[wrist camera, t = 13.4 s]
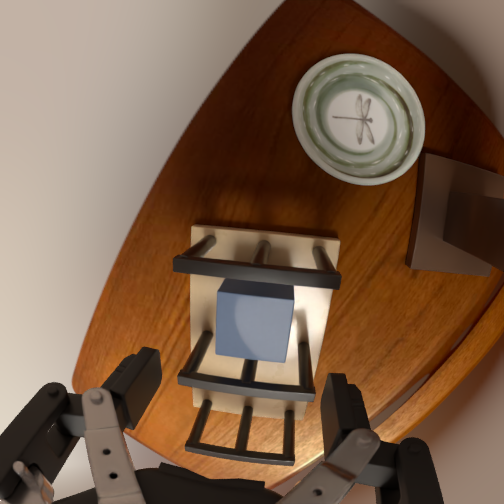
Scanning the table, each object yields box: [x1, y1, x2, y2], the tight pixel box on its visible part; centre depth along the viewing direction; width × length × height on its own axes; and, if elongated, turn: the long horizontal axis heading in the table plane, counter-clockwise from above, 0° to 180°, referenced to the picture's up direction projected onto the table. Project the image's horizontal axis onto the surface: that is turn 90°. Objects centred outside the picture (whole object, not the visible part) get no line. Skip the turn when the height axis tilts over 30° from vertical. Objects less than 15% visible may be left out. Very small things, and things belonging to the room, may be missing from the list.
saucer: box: [292, 54, 425, 185], centre depth 18 cm, size 10×10×2 cm
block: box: [215, 278, 295, 363], centre depth 20 cm, size 5×5×5 cm
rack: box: [173, 224, 342, 466], centre depth 21 cm, size 18×11×7 cm, turn 175°
